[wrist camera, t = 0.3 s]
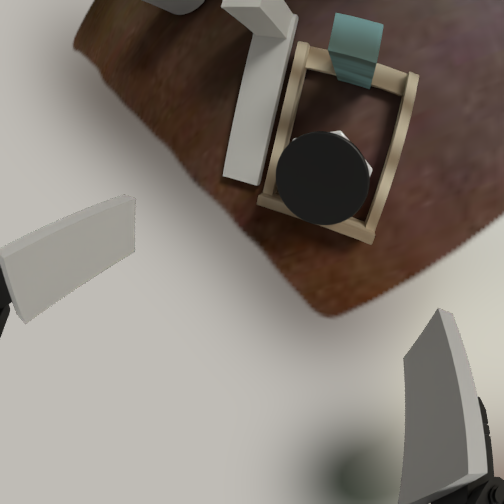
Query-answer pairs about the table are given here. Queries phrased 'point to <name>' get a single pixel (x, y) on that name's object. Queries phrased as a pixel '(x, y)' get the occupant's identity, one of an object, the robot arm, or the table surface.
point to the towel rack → (358, 73)
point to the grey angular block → (258, 84)
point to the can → (177, 5)
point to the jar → (323, 177)
